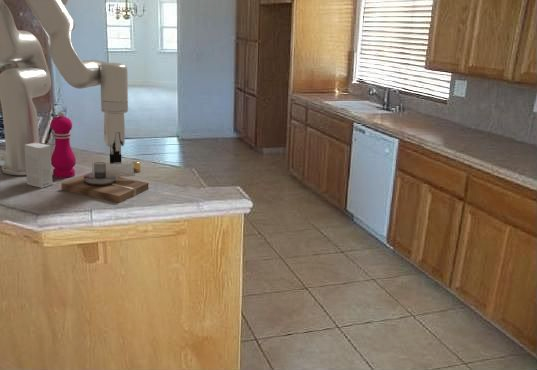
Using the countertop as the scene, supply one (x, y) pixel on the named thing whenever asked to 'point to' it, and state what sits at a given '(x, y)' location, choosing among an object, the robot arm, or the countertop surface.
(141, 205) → the countertop surface
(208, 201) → the countertop surface
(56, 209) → the countertop surface
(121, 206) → the countertop surface
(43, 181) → the skincare box
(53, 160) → the pepper mill
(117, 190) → the walnut board
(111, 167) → the dial
